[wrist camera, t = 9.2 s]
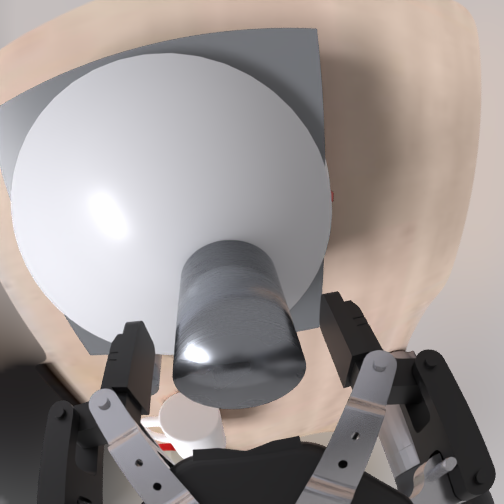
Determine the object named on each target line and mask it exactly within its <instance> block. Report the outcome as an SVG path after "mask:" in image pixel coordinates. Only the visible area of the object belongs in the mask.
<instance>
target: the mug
mask: <svg viewBox="0 0 504 504" xmlns="http://www.w3.org/2000/svg"><path fill="white" fill-rule="evenodd" d="M141 423H142V424H143V426H144V427H145V428H146V430H147V431H148V432H149V434H150V435H151V436H152V438H153V439H154V440H158V441H162V442H167V443H171V444H172V445H173V447H174V448H175V450H176V451H177V452H178V454H179V455H180V456H181V457H182V458H183V459H185V458H187V457H190V456H193V449H210V448H223V449H225V447H226V437H225V433H224V428H223V424H222V419H221V414H220V410H219V408H214V407H209V406H205V405H202V404H199V403H196V402H194V401H192V400H190V399H189V398H187V397H186V396H184V395H183V394H182V393H181V392H179V393H176V394H174V395H172V396H171V397H169V398H168V399H167V400H166V401H165V402H164V403H163V405H162V406H161V408H160V411H159V416H150V417H144V418H142V419H141ZM154 426H161V429H162V430H163V432H164V433H165V434H162V433H156V432H153V431H151V430H150V429H148V428H147V427H154Z"/></svg>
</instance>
